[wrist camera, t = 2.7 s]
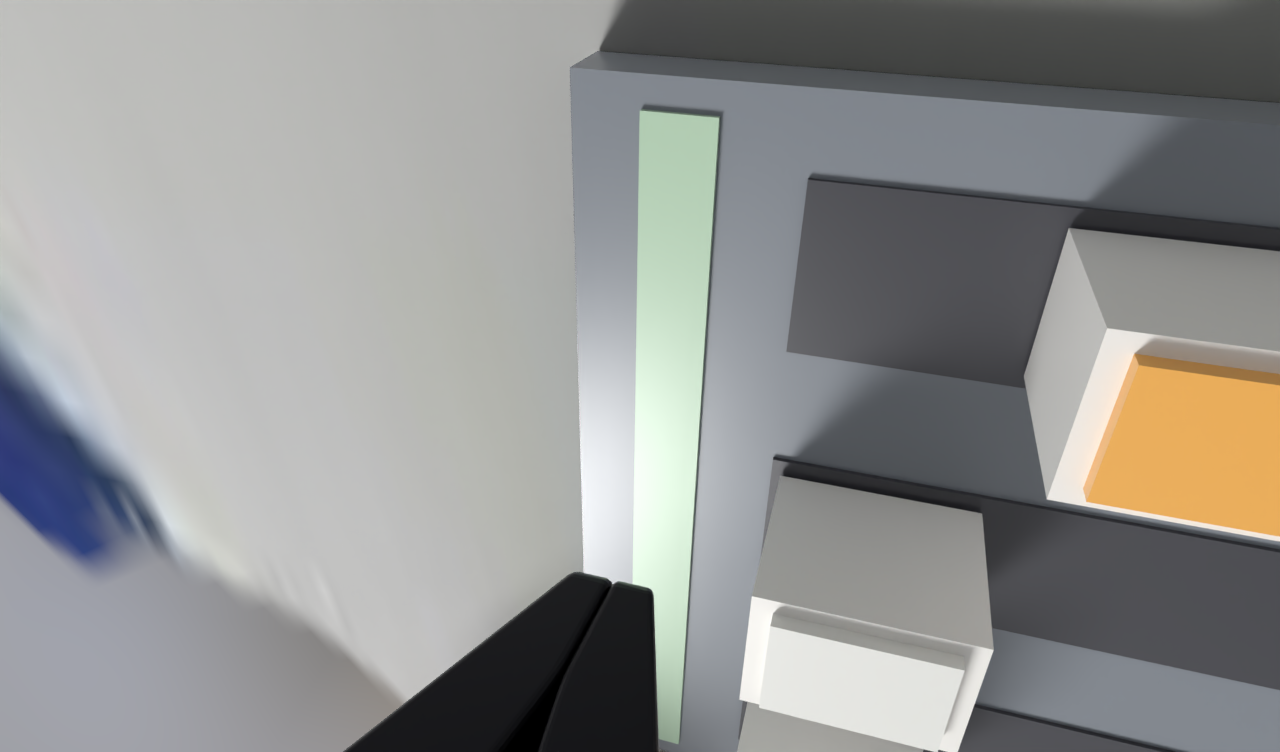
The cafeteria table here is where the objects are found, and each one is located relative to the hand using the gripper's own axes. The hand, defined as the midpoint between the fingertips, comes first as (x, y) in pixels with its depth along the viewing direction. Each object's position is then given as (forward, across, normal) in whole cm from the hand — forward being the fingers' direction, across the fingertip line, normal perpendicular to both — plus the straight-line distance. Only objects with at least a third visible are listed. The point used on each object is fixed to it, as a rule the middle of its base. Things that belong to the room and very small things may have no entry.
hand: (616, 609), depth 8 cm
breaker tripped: (+9, -7, 0) cm, 11 cm away
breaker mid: (+8, -3, +6) cm, 11 cm away
